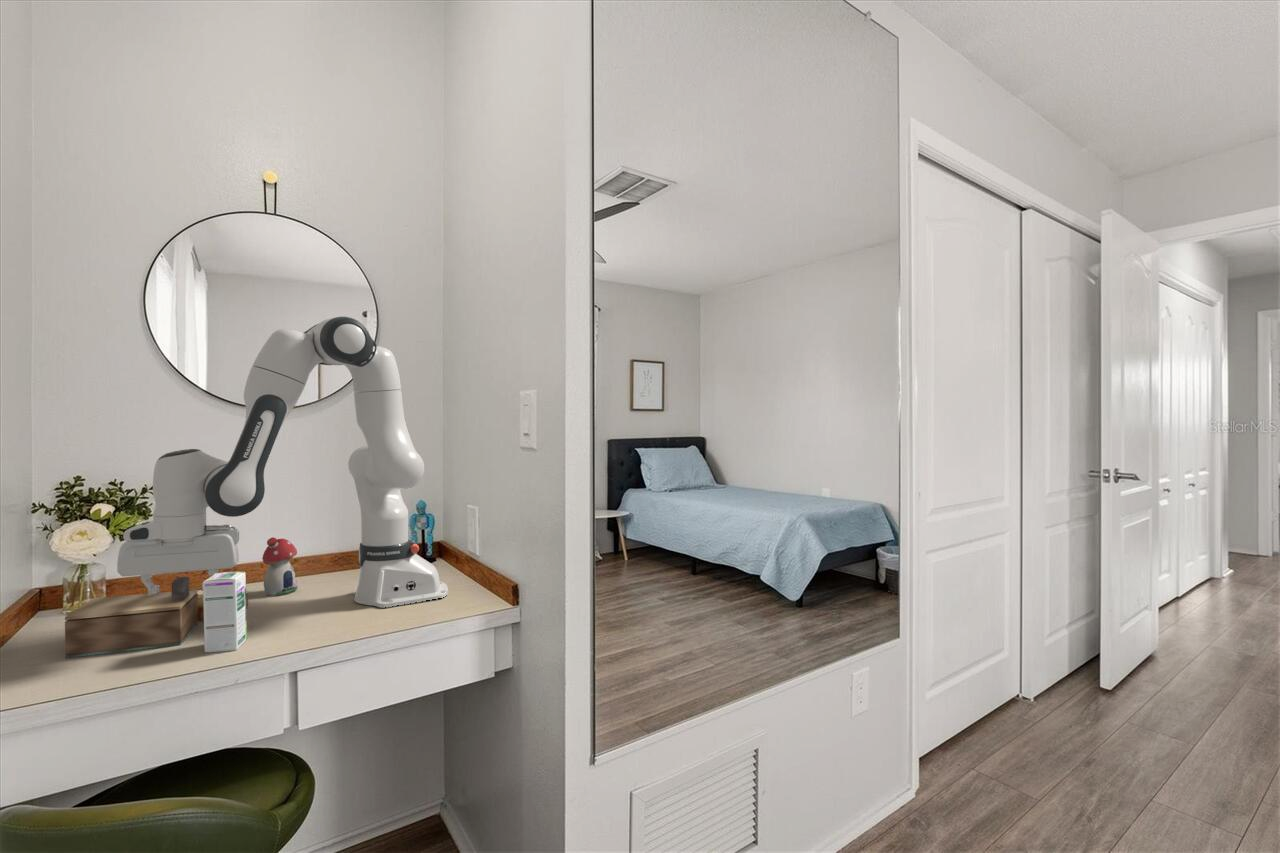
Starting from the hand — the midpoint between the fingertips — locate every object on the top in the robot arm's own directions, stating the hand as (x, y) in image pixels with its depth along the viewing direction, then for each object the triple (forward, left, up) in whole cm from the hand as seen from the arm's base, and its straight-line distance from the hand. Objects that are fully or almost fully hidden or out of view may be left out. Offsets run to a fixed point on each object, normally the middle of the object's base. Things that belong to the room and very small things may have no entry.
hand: (180, 592), depth 126 cm
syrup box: (-10, +10, -9) cm, 17 cm away
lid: (+7, 0, -2) cm, 8 cm away
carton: (0, -13, -10) cm, 16 cm away
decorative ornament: (-14, -26, -9) cm, 31 cm away
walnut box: (+8, 0, -9) cm, 12 cm away
